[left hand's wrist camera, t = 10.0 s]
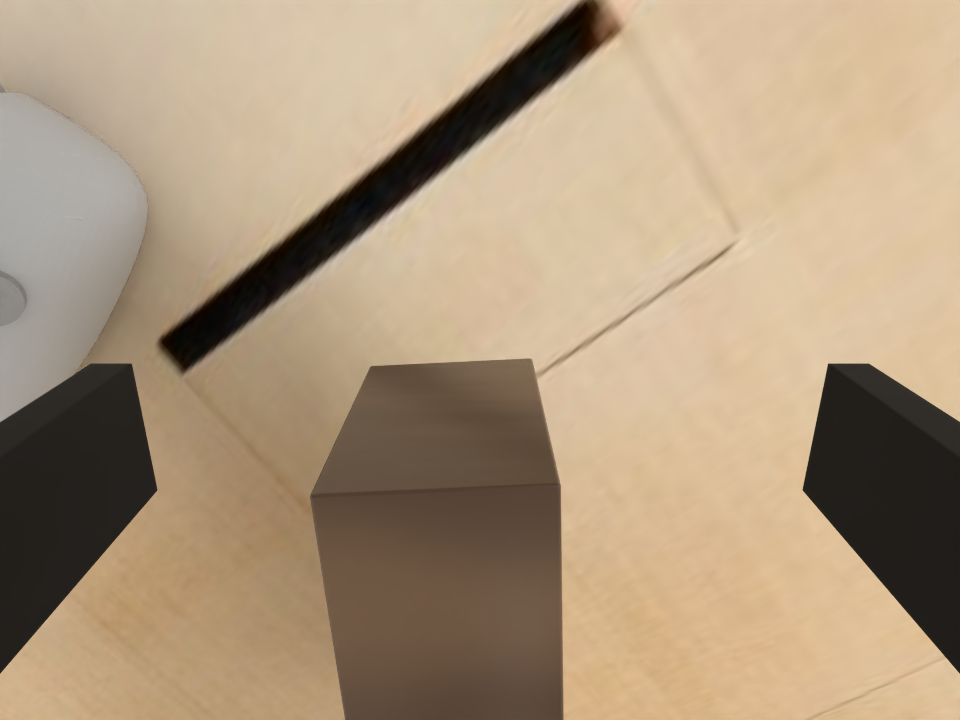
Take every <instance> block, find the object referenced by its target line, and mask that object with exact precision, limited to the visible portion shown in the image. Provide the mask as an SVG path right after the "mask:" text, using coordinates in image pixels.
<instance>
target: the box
mask: <svg viewBox="0 0 960 720" xmlns="http://www.w3.org/2000/svg"><path fill="white" fill-rule="evenodd" d="M310 499H311V505H312V512H313V518H314V525H315V531H316V537H317V544H318V550H319V556H320V563H321V569H322V575H323V582H324V588H325V594H326V601H327V607H328V613H329V620H330V626H331V632H332V639H333V645H334V651H335V658H336V664H337V670H338V677H339V683H340V689H341V696H342V702H343V708H344V715H345V720H563V639H562V552H561V485H560V480H559V476H558V471H557V467H556V463H555V458H554V454H553V449H552V445H551V441H550V436H549V432H548V427H547V423H546V419H545V414H544V410H543V405H542V401H541V397H540V392H539V388H538V383H537V379H536V375H535V370H534V366H533V361H532V359H512V360H491V361H471V362H450V363H429V364H408V365H388V366H371V367H370V369H369V371H368V373H367V375H366V377H365V380H364V382H363V384H362V386H361V388H360V390H359V392H358V395H357V397H356V399H355V401H354V403H353V405H352V407H351V410H350V412H349V414H348V416H347V418H346V420H345V422H344V425H343V427H342V429H341V431H340V433H339V435H338V437H337V440H336V442H335V444H334V446H333V448H332V450H331V453H330V455H329V457H328V459H327V461H326V463H325V465H324V468H323V470H322V472H321V474H320V476H319V478H318V480H317V483H316V485H315V487H314V489H313V491H312V493H311V496H310Z"/></svg>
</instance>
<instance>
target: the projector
mask: <svg viewBox="0 0 960 720" xmlns="http://www.w3.org/2000/svg"><path fill="white" fill-rule="evenodd" d="M147 217H148V200H147V195H146V191H145V189H144V187H143V184H142V182H141V181H140V179H139V177H138V176H137V174H136V173H135V171H134V170H133V169H132V167H131V166H130V165H129V164H128V163H127V162H126V161H125V160H124V159H123V158H122V157H121V156H120V155H119V154H118V153H117V152H116V151H115V150H113V149H112V148H111V147H110V146H108V145H107V144H105V143H104V142H103V141H101V140H100V139H99V138H97V137H96V136H95V135H93V134H92V133H90V132H88V131H87V130H85V129H84V128H82V127H81V126H79V125H78V124H76V123H75V122H73V121H71V120H70V119H68V118H66V117H65V116H63V115H61V114H60V113H58V112H56V111H55V110H53V109H51V108H49V107H48V106H46V105H44V104H43V103H41V102H39V101H37V100H36V99H34V98H32V97H30V96H28V95H25V94H22V93H16V92H5V91H4V89H3V87H2V86H1V84H0V422H1V421H3V420H4V419H6V418H7V417H9V416H10V415H12V414H14V413H15V412H17V411H18V410H20V409H21V408H23V407H24V406H26V405H28V404H29V403H31V402H32V401H34V400H35V399H37V398H38V397H40V396H42V395H43V394H45V393H46V392H48V391H49V390H51V389H52V388H54V387H56V386H57V385H59V384H60V383H62V382H63V381H65V380H67V379H68V378H70V377H71V376H73V375H74V374H75V372H76V371H77V369H78V368H79V367H80V365H81V364H82V362H83V361H84V359H85V358H86V357H87V355H88V353H89V352H90V350H91V349H92V347H93V345H94V344H95V342H96V340H97V339H98V337H99V335H100V334H101V332H102V330H103V328H104V326H105V324H106V323H107V321H108V319H109V317H110V315H111V313H112V311H113V309H114V307H115V305H116V303H117V301H118V299H119V297H120V295H121V293H122V291H123V289H124V286H125V284H126V282H127V280H128V278H129V275H130V273H131V271H132V268H133V266H134V263H135V261H136V258H137V256H138V253H139V250H140V247H141V243H142V240H143V237H144V233H145V229H146V224H147Z"/></svg>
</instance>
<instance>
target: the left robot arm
mask: <svg viewBox="0 0 960 720" xmlns="http://www.w3.org/2000/svg"><path fill="white" fill-rule="evenodd" d="M156 491H157V486H156V481H155V476H154V471H153V466H152V461H151V456H150V451H149V446H148V441H147V436H146V431H145V427H144V422H143V417H142V412H141V407H140V402H139V397H138V392H137V387H136V382H135V377H134V372H133V367H132V364H90V365H88V366H87V367H85V368H84V369H82V370H81V371H79V372H77V373H76V374H74V375H73V376H71V377H70V378H68V379H67V380H65V381H63V382H62V383H60V384H59V385H57V386H56V387H54V388H52V389H51V390H49V391H48V392H46V393H45V394H43V395H42V396H40V397H38V398H37V399H35V400H34V401H32V402H31V403H29V404H28V405H26V406H24V407H23V408H21V409H20V410H18V411H17V412H15V413H14V414H12V415H10V416H9V417H7V418H6V419H4V420H3V421H1V422H0V673H1V672H2V671H3V670H4V669H5V667H6V666H7V665H8V664H9V663H10V662H11V660H12V659H13V658H14V657H15V656H16V655H17V653H18V652H19V651H20V650H21V649H22V648H23V646H24V645H25V644H26V643H27V642H28V641H29V639H30V638H31V637H32V636H33V635H34V634H35V632H36V631H37V630H38V629H39V628H40V627H41V625H42V624H43V623H44V622H45V621H46V620H47V618H48V617H49V616H50V615H51V614H52V613H53V611H54V610H55V609H56V608H57V607H58V606H59V604H60V603H61V602H62V601H63V600H64V599H65V597H66V596H67V595H68V594H69V593H70V592H71V590H72V589H73V588H74V587H75V586H76V585H77V583H78V582H79V581H80V580H81V579H82V578H83V576H84V575H85V574H86V573H87V572H88V571H89V569H90V568H91V567H92V566H93V565H94V564H95V562H96V561H97V560H98V559H99V558H100V557H101V555H102V554H103V553H104V552H105V551H106V550H107V548H108V547H109V546H110V545H111V544H112V543H113V541H114V540H115V539H116V538H117V537H118V536H119V534H120V533H121V532H122V531H123V530H124V529H125V527H126V526H127V525H128V524H129V523H130V522H131V520H132V519H133V518H134V517H135V516H136V515H137V513H138V512H139V511H140V510H141V509H142V508H143V506H144V505H145V504H146V503H147V502H148V501H149V499H150V498H151V497H152V496H153V495H154V494H155V492H156ZM803 491H804V492H805V494H806V495H807V496H808V497H809V498H810V499H811V501H812V502H813V503H814V504H815V505H816V506H817V508H818V509H819V510H820V511H821V512H822V513H823V515H824V516H825V517H826V518H827V519H828V520H829V522H830V523H831V524H832V525H833V526H834V527H835V529H836V530H837V531H838V532H839V533H840V534H841V536H842V537H843V538H844V539H845V540H846V541H847V543H848V544H849V545H850V546H851V547H852V548H853V550H854V551H855V552H856V553H857V554H858V555H859V557H860V558H861V559H862V560H863V561H864V562H865V564H866V565H867V566H868V567H869V568H870V569H871V571H872V572H873V573H874V574H875V575H876V576H877V578H878V579H879V580H880V581H881V582H882V583H883V585H884V586H885V587H886V588H887V589H888V590H889V592H890V593H891V594H892V595H893V596H894V597H895V599H896V600H897V601H898V602H899V603H900V604H901V606H902V607H903V608H904V609H905V610H906V611H907V613H908V614H909V615H910V616H911V617H912V618H913V620H914V621H915V622H916V623H917V624H918V625H919V627H920V628H921V629H922V630H923V631H924V632H925V634H926V635H927V636H928V637H929V638H930V639H931V641H932V642H933V643H934V644H935V645H936V646H937V648H938V649H939V650H940V651H941V652H942V653H943V655H944V656H945V657H946V658H947V659H948V660H949V662H950V663H951V664H952V665H953V666H954V667H955V669H956V670H957V671H958V672H959V673H960V422H959V421H957V420H956V419H954V418H953V417H951V416H950V415H948V414H946V413H945V412H943V411H942V410H940V409H939V408H937V407H936V406H934V405H932V404H931V403H929V402H928V401H926V400H925V399H923V398H922V397H920V396H918V395H917V394H915V393H914V392H912V391H911V390H909V389H908V388H906V387H904V386H903V385H901V384H900V383H898V382H897V381H895V380H893V379H892V378H890V377H889V376H887V375H886V374H884V373H883V372H881V371H879V370H878V369H876V368H875V367H873V366H872V365H870V364H828V367H827V372H826V377H825V382H824V387H823V392H822V397H821V402H820V407H819V412H818V417H817V422H816V427H815V431H814V436H813V441H812V446H811V451H810V456H809V461H808V466H807V471H806V476H805V481H804V486H803Z"/></svg>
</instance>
